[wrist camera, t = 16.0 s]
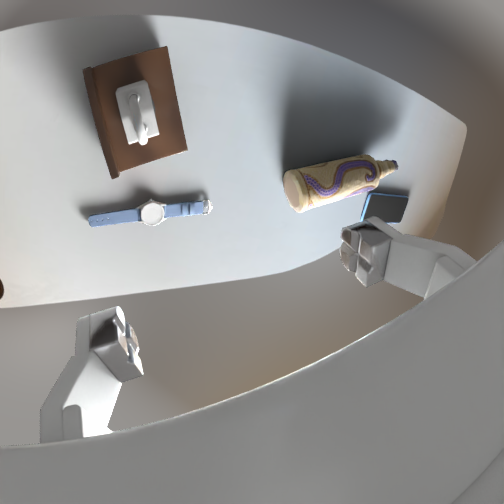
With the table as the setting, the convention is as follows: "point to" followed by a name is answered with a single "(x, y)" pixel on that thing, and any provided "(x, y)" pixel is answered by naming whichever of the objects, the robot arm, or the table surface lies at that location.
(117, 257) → the table surface
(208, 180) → the table surface
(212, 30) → the table surface
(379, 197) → the smartphone
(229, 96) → the table surface
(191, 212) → the wristwatch
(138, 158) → the shelf
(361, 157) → the decorative bottle
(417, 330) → the robot arm
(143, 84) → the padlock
